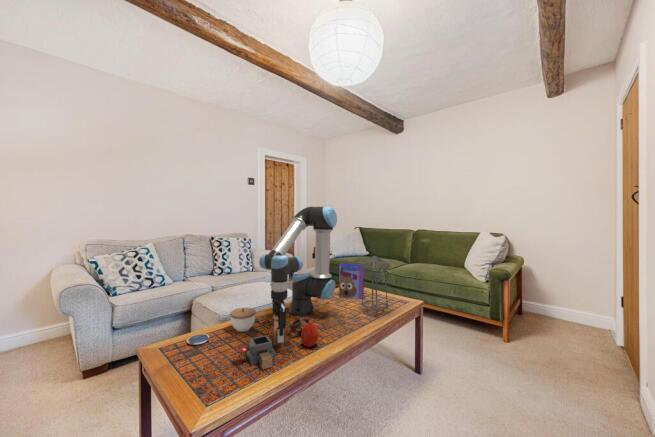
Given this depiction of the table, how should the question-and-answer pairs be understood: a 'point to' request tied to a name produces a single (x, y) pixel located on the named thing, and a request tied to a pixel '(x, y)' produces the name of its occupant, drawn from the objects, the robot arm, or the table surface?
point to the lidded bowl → (243, 319)
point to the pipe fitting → (276, 332)
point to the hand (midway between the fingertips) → (278, 339)
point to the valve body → (259, 351)
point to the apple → (309, 334)
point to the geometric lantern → (375, 281)
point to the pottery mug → (298, 326)
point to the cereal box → (351, 281)
